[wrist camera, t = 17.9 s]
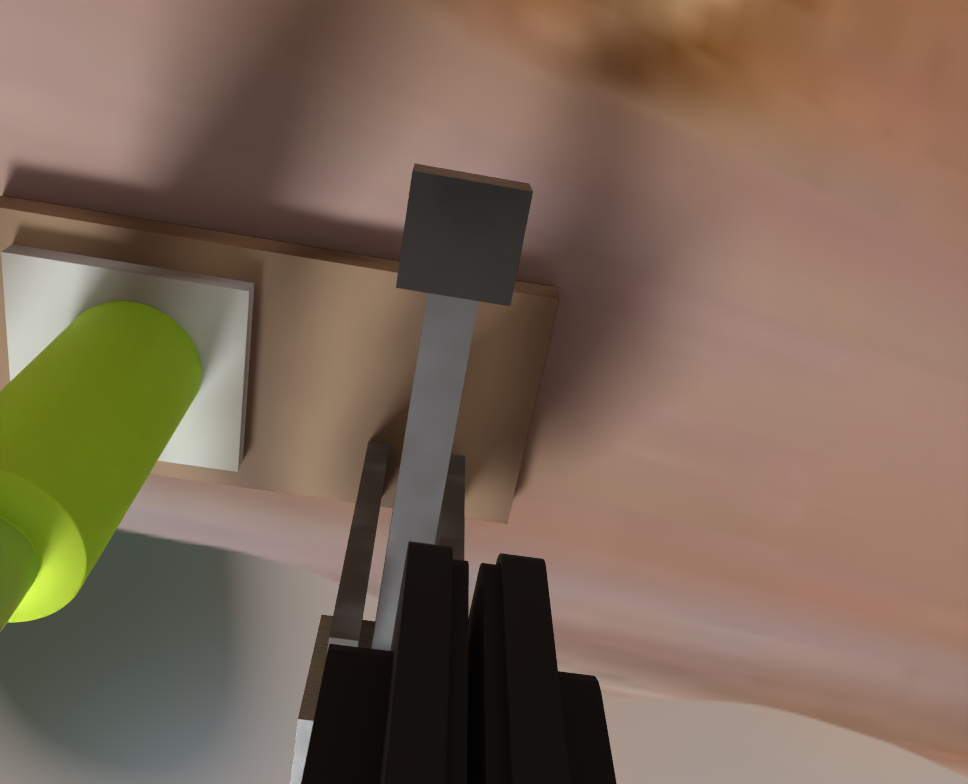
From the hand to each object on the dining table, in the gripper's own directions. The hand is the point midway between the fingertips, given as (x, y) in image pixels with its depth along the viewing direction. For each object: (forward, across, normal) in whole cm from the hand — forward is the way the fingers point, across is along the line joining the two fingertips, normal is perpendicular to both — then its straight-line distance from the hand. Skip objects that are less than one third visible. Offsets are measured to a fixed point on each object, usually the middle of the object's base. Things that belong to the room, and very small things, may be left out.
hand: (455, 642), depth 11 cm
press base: (+29, +7, +12) cm, 32 cm away
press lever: (+21, 0, +11) cm, 24 cm away
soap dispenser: (+27, +13, +11) cm, 31 cm away
